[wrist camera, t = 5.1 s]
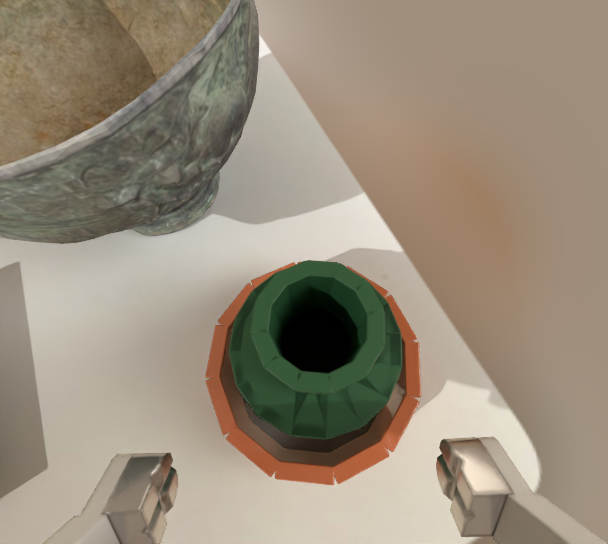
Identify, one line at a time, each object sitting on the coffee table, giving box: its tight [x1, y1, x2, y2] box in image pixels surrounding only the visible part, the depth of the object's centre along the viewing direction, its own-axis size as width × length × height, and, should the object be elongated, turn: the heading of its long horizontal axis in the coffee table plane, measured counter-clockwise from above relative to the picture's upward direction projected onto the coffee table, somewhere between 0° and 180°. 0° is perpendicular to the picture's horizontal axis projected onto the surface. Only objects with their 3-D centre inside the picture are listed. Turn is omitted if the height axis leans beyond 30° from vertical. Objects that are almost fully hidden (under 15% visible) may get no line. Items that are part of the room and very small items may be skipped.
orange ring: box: [206, 262, 421, 485], centre depth 19 cm, size 12×12×4 cm
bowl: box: [0, 0, 259, 244], centre depth 19 cm, size 20×19×15 cm
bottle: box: [229, 260, 402, 440], centre depth 15 cm, size 6×6×14 cm
